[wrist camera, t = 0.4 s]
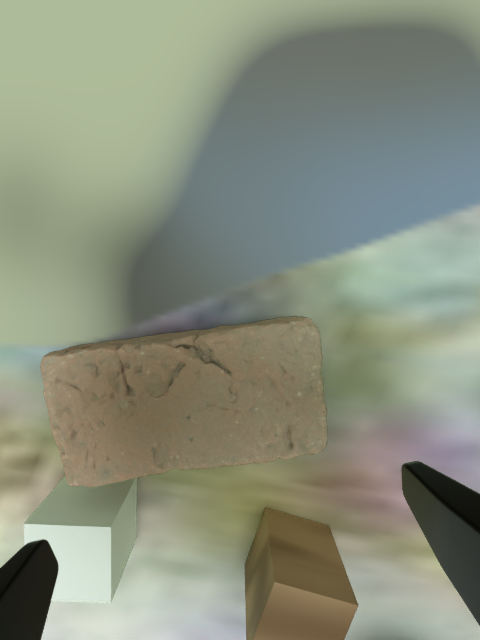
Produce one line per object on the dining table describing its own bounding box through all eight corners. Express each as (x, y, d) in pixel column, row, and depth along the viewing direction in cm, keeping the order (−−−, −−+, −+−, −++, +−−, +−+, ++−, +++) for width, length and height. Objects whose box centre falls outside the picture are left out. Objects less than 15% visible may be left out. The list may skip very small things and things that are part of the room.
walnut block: (306, 581, 25) (328, 677, 19) (244, 564, 25) (246, 655, 19) (328, 525, 24) (358, 605, 18) (265, 506, 24) (274, 581, 18)
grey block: (136, 536, 24) (111, 603, 19) (69, 534, 24) (26, 600, 19) (137, 474, 24) (110, 527, 19) (68, 472, 24) (23, 523, 19)
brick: (307, 310, 22) (325, 318, 18) (319, 424, 23) (339, 460, 19) (72, 341, 23) (29, 357, 18) (95, 452, 24) (59, 495, 19)
